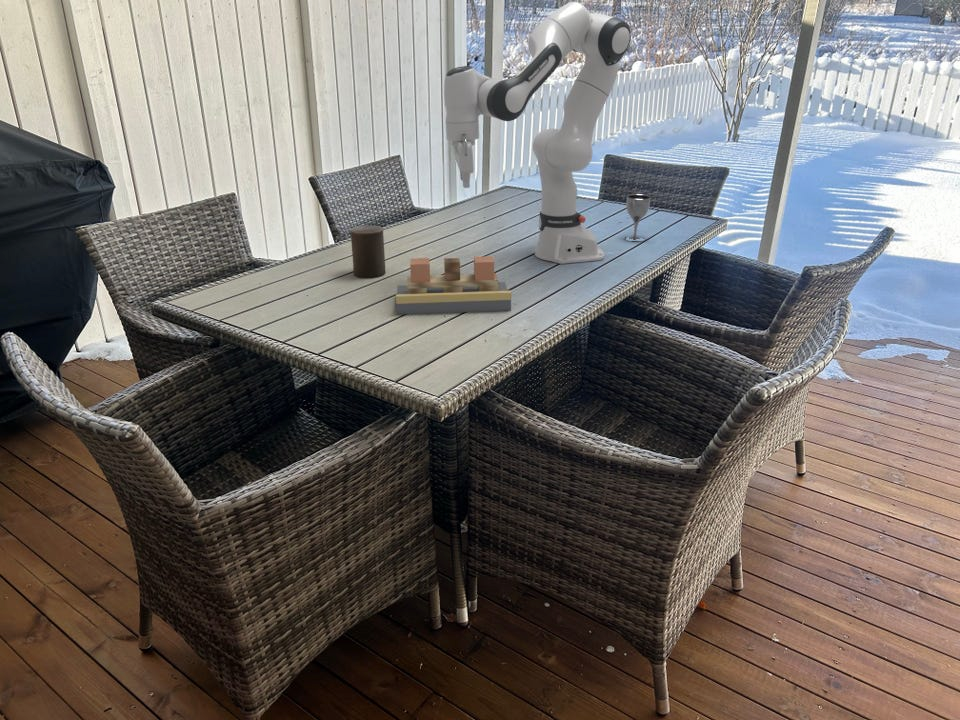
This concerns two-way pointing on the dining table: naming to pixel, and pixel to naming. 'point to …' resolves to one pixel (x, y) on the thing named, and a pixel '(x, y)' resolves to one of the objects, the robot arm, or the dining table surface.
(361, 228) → the pillar candle
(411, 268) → the block
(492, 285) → the pallet
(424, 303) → the dock
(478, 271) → the block
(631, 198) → the wine glass
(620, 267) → the dining table surface
